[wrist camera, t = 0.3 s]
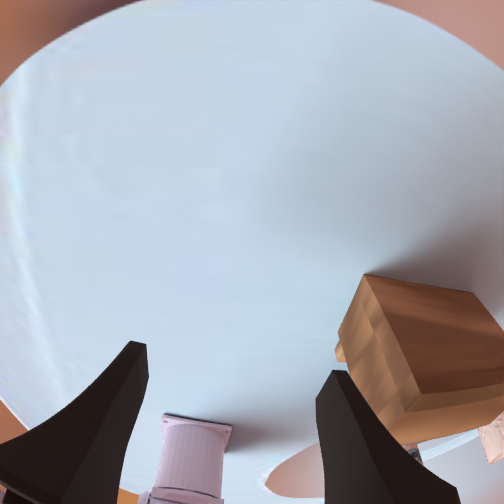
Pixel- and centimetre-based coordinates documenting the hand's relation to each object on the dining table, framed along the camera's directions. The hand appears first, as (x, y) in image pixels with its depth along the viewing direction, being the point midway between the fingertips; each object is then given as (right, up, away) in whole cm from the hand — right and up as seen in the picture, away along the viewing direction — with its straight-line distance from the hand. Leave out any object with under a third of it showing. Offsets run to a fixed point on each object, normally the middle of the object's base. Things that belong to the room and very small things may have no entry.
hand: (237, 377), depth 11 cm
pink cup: (+40, -21, +22) cm, 50 cm away
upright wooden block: (+14, -1, +11) cm, 18 cm away
